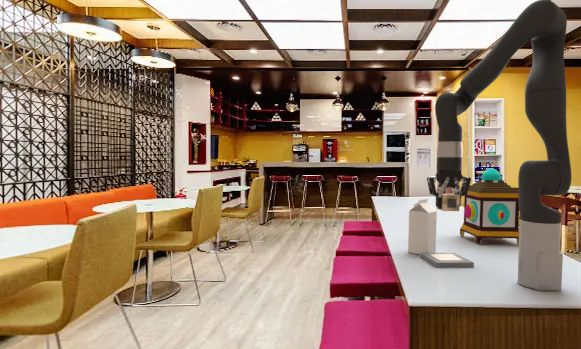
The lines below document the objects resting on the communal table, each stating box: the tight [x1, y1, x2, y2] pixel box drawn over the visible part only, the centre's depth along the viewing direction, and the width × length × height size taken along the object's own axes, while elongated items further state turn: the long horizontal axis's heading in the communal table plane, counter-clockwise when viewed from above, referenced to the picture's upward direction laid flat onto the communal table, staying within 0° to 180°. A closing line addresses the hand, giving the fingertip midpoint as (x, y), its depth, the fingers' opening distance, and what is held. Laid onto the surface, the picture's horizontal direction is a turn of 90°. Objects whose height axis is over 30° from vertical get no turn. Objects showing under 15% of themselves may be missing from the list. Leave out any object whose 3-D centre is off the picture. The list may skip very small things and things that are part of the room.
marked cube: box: [436, 193, 460, 212], centre depth 123 cm, size 5×5×5 cm
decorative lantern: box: [459, 167, 520, 246], centre depth 157 cm, size 20×20×30 cm
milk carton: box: [407, 198, 438, 256], centre depth 135 cm, size 7×7×19 cm
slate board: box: [419, 252, 475, 268], centre depth 124 cm, size 12×12×2 cm
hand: (447, 208), depth 123 cm, fingers closed on marked cube, 5 cm apart
